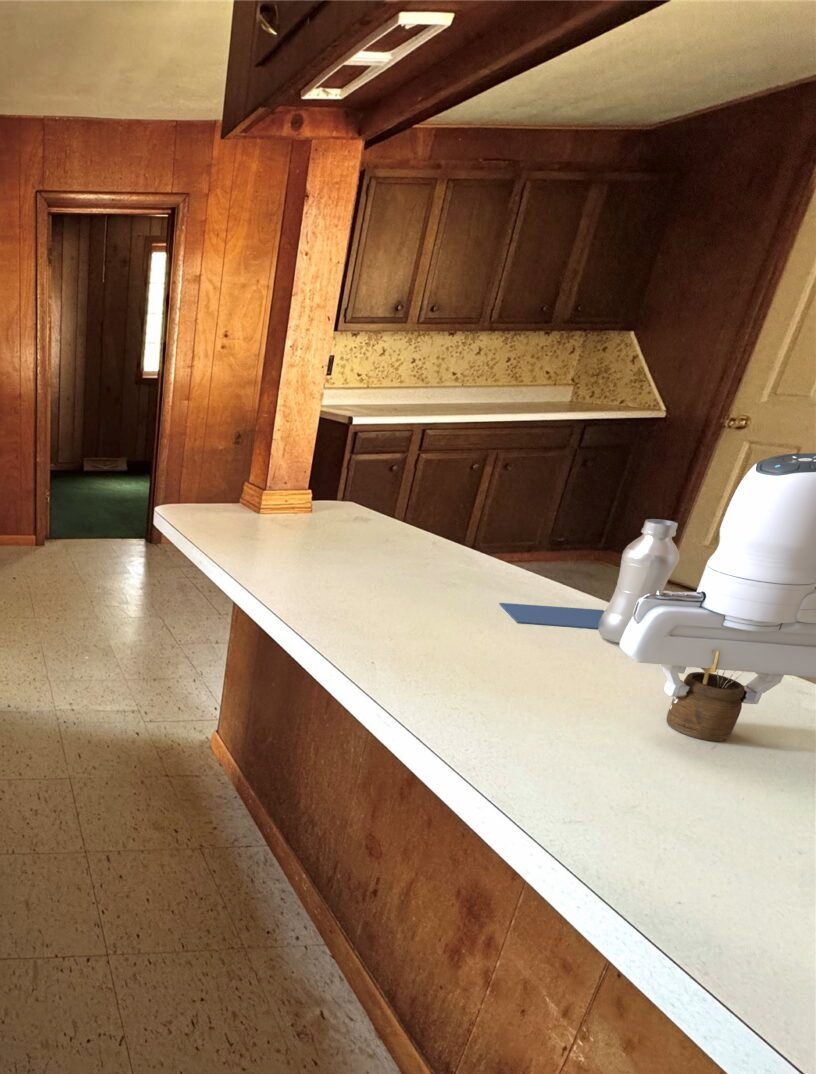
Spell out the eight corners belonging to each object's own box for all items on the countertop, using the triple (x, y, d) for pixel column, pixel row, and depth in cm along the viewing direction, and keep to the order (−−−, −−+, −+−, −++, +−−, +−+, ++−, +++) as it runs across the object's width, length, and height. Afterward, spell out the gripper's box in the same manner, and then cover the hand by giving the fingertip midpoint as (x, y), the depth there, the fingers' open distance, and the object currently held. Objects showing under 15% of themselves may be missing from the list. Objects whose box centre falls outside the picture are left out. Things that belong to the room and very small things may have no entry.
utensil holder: (741, 737, 82) (779, 650, 78) (706, 747, 81) (743, 659, 76) (684, 713, 87) (717, 631, 83) (651, 722, 86) (682, 639, 81)
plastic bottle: (584, 632, 111) (621, 516, 104) (629, 633, 110) (670, 516, 103) (611, 649, 105) (652, 527, 98) (659, 650, 104) (703, 528, 97)
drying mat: (602, 611, 119) (603, 609, 118) (628, 631, 111) (629, 630, 110) (499, 604, 123) (499, 602, 123) (517, 623, 115) (517, 621, 115)
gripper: (656, 598, 77) (620, 700, 82) (889, 612, 71) (835, 721, 77) (628, 580, 83) (596, 677, 88) (841, 592, 77) (794, 695, 82)
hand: (709, 698), depth 82 cm, fingers closed on utensil holder, 5 cm apart
